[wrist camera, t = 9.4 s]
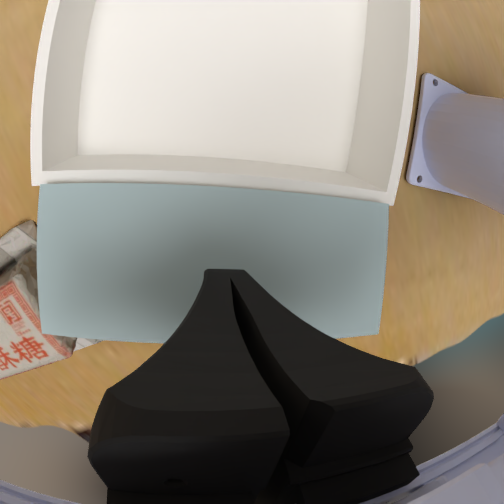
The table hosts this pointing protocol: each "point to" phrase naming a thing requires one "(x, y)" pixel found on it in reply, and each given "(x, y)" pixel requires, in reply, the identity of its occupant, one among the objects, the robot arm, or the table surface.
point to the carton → (226, 94)
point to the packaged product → (26, 308)
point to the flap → (202, 256)
